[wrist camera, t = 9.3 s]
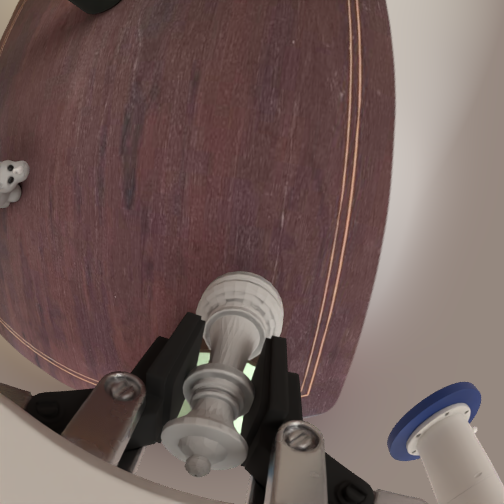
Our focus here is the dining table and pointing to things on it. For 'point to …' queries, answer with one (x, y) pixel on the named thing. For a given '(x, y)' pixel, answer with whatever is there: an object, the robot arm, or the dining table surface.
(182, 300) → the dining table surface
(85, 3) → the wine bottle
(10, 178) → the toy rhinoceros
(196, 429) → the chess piece
